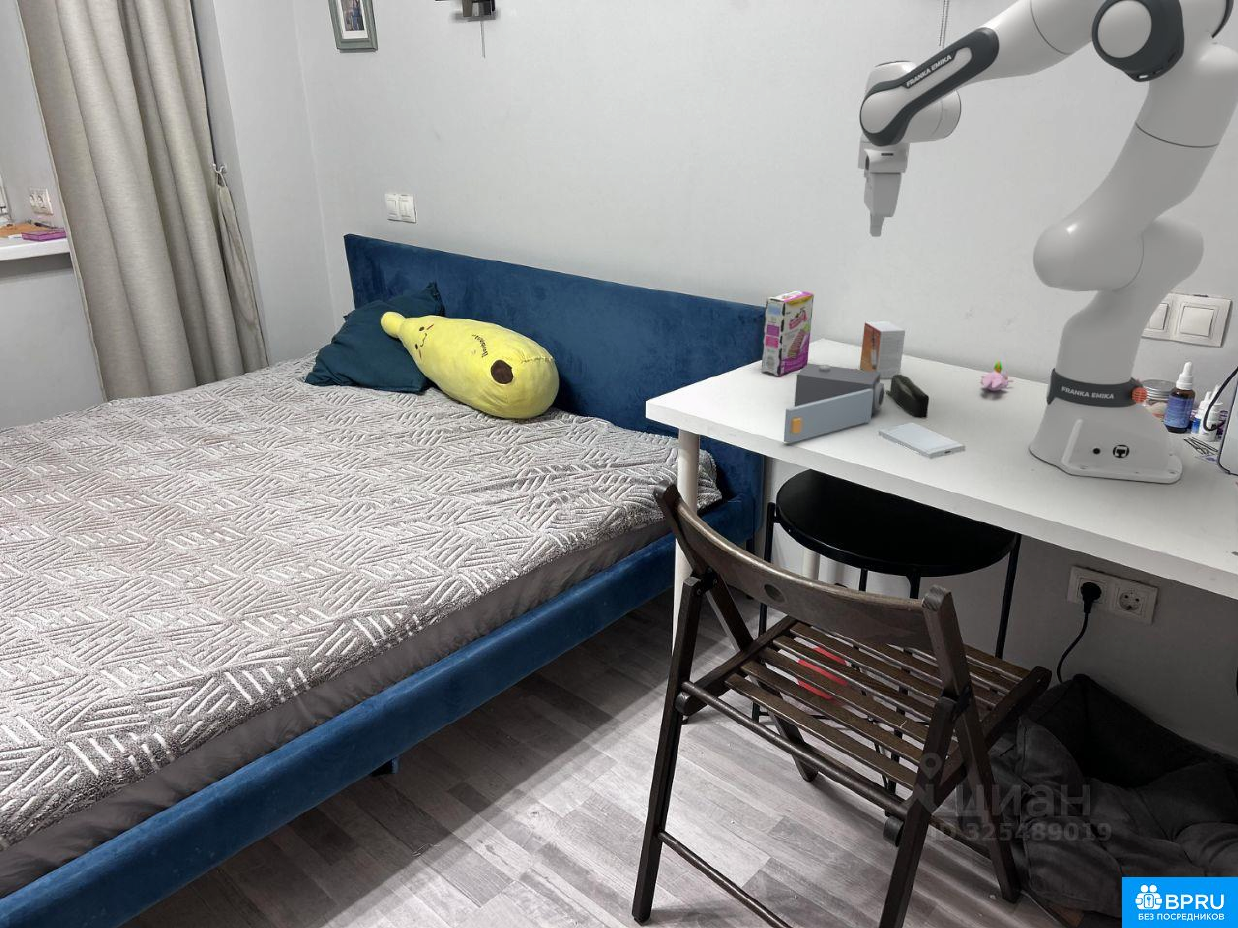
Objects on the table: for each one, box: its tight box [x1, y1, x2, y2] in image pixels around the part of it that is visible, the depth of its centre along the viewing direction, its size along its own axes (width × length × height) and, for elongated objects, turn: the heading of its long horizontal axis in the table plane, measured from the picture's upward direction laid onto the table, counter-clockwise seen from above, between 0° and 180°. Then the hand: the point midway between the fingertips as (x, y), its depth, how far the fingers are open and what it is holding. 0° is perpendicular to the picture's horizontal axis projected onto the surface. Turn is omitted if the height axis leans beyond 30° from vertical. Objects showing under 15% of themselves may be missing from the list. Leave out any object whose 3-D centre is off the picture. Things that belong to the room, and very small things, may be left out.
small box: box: [859, 320, 906, 380], centre depth 192 cm, size 8×6×10 cm
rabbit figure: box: [980, 361, 1014, 392], centre depth 182 cm, size 6×6×15 cm
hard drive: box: [878, 422, 967, 459], centre depth 157 cm, size 2×8×12 cm
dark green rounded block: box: [885, 374, 930, 418], centre depth 174 cm, size 5×3×15 cm
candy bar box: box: [760, 290, 815, 378], centre depth 193 cm, size 11×5×16 cm, turn 136°
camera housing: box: [793, 362, 885, 416], centre depth 172 cm, size 16×8×8 cm, turn 64°
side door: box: [783, 389, 874, 444], centre depth 160 cm, size 20×2×6 cm, turn 122°
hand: (875, 235), depth 170 cm, fingers closed
